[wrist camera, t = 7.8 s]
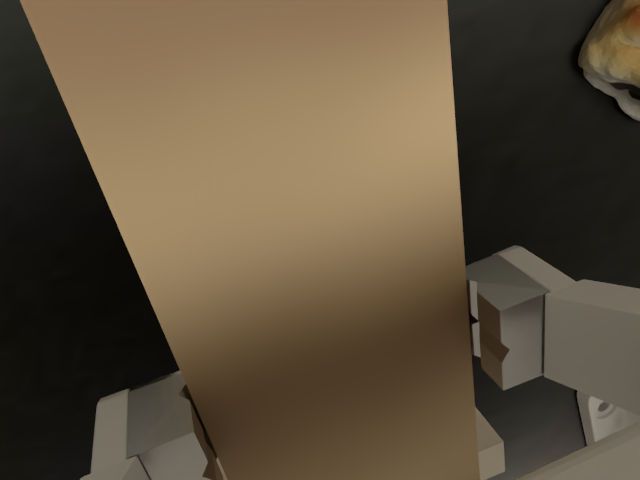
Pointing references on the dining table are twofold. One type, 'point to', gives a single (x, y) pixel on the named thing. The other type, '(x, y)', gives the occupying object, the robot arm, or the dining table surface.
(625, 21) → the pastry
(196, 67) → the shelf board
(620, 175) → the dining table surface
